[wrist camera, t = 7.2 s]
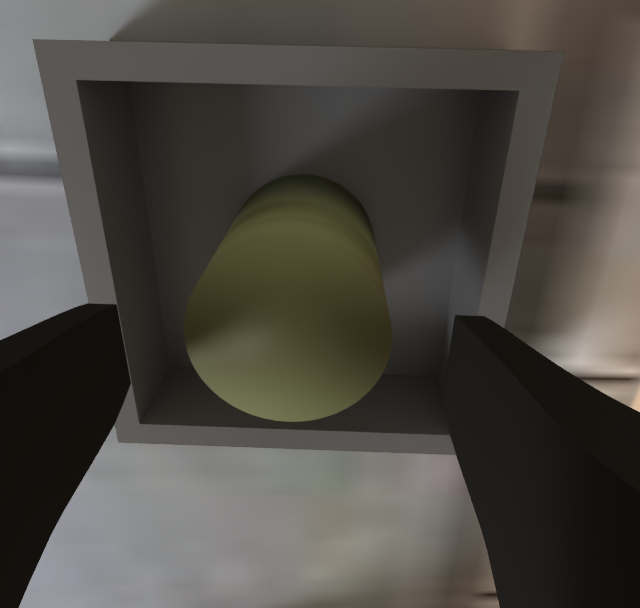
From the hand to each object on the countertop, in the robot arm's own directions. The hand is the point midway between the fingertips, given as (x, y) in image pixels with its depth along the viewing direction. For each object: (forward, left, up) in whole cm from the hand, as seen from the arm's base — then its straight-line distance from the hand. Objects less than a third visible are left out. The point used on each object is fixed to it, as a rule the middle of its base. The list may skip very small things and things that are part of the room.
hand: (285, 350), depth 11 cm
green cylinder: (0, 0, -6) cm, 6 cm away
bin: (0, 0, -7) cm, 7 cm away
